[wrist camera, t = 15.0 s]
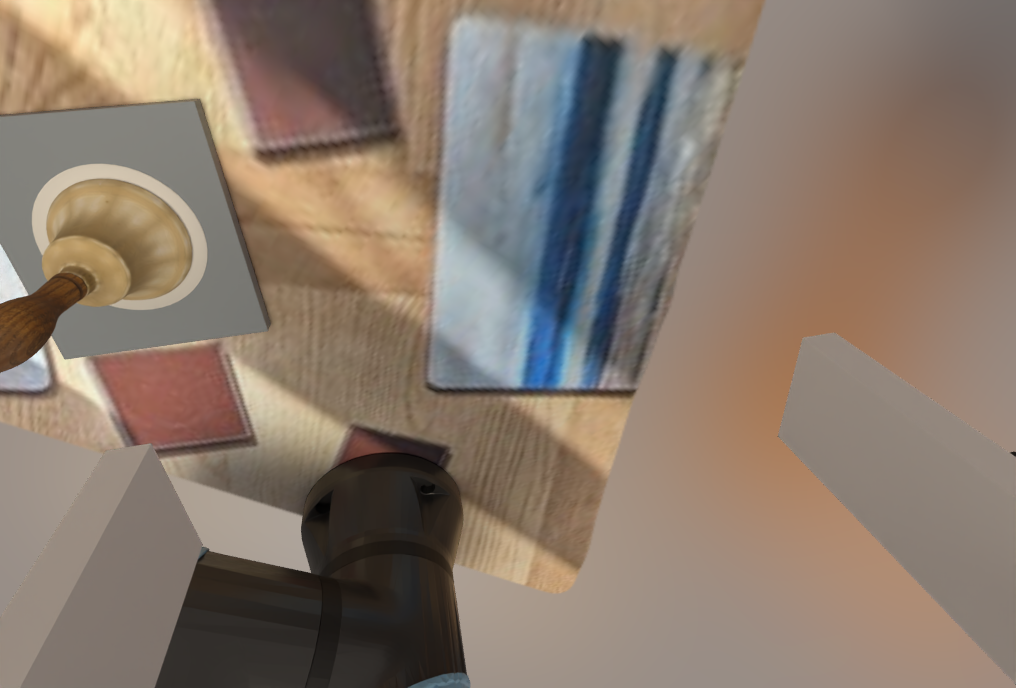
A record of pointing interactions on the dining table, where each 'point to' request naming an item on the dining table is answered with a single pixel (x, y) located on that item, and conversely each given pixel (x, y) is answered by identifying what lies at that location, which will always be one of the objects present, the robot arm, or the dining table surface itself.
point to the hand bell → (97, 260)
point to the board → (163, 172)
